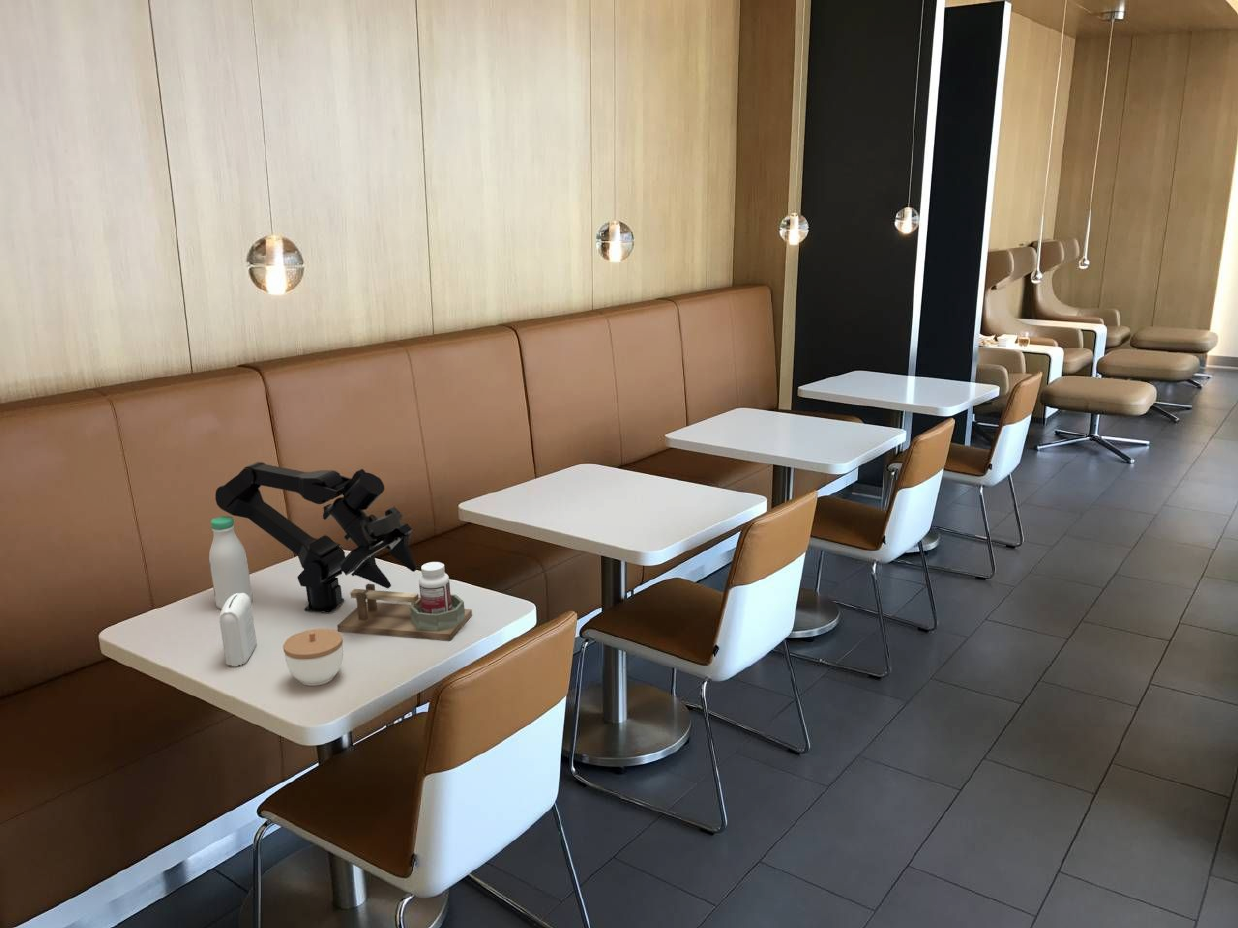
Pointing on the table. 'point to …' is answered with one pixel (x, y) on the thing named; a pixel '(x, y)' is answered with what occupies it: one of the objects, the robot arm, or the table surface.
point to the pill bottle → (434, 589)
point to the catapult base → (390, 620)
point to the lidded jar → (314, 655)
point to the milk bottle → (228, 562)
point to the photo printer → (237, 629)
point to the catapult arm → (417, 617)
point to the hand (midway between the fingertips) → (402, 578)
